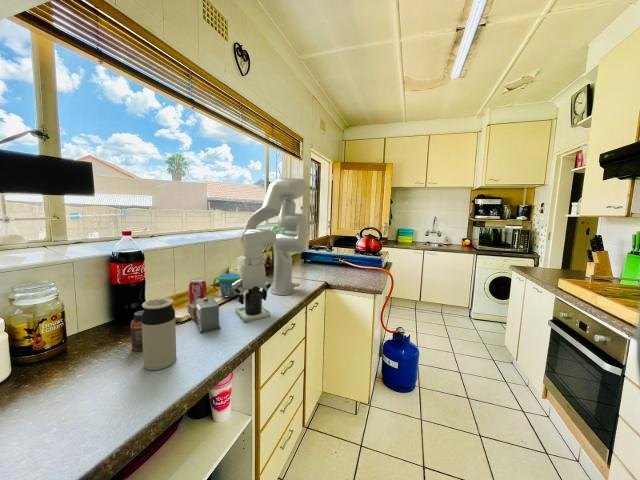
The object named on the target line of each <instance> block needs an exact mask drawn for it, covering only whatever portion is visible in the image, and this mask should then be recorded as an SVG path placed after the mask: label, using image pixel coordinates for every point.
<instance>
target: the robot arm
mask: <svg viewBox="0 0 640 480" xmlns="http://www.w3.org/2000/svg"><path fill="white" fill-rule="evenodd" d="M306 191H307V182H306V180H305V179H304V178H291V177H290V178H288V177H287V178H286V177H285V178H284V177H282V178H276V179H275V180H274V181H272V182H271V183H269V185H268V188H267V191H266V194H265V197H264V200H263V202H262V206H261V208H259V209H257V210H256V211H255V212H254V213H252V214H251V216H250V217H249V218H248V219H247V221H246V224H245V226H244V229H243V233H242V242H243V263H242V264H241V266H240V272H239V275H240V279H239V280H238V281H236V282H235V283H233V284H232V287H233V289H234V290H235V291H236V292H237V295H238V296H237V297H238V299H237V301H238V302H239V304H241V305H245V294H244V292H246V290H247V291H248V290H249V289H253V287H256V286H258V288H260V289H261V292H262V301H267V297H268V291H269V289H270V293H271V294H273V295H276V296H277V295H278V296H286V295H291V294H294V292H295V288H296V287H297V288H299V287H300V282H293V281H292V280H293V279H292V277H293V276H292V275H293V257H292V255H291V253H299V254H301V253H304V252H305V250H306V246H307V238H308V237H307V236H308V229H309V219H308V216H307V215H306V214H303V213H296V207H297V206H296V204H297V203H296V201H295V200H297V199H299V198H301V197H303V196H304V195H305V194H306ZM275 217H278V219H277V227H278V229H279V230H280V231H285V232H279V233H275V232H274V231H273V230H271V229H265V228H262V229H261V228H257V227H258V226H259V225H261V224H262V223H263V222H265V221H268V220H270V219H273V218H275ZM286 232H294V233H286ZM295 232H296V233H295ZM271 247H272V248H273V258H274V259H273V261H274V262H273V278H270V277H267V276H266V275H267V274H266V273H267V272H266V267H265V264H264V262H265V261H266V260H267V258H266V257H264V248H271ZM272 284H273V287H272V288H271V286H272ZM237 285H239V288H238V289H237Z"/></svg>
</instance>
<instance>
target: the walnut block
mask: <svg viewBox="0 0 640 480" xmlns="http://www.w3.org/2000/svg"><path fill="white" fill-rule="evenodd" d="M188 313H189V314H190V316H191V318H190V319H191V320H192V321H195V320H197V316H196V303H193V304H189V303H188V304H187V314H188Z"/></svg>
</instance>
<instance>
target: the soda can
mask: <svg viewBox="0 0 640 480" xmlns="http://www.w3.org/2000/svg"><path fill="white" fill-rule="evenodd" d="M205 297H207V282H206V280H205V279H204V278H201V277H199V278H192V279H190V280H189V284H188V305H189V304H193V303H196V299H201V298H205Z"/></svg>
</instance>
